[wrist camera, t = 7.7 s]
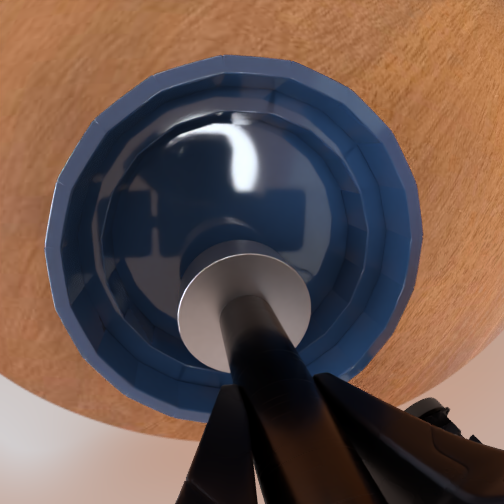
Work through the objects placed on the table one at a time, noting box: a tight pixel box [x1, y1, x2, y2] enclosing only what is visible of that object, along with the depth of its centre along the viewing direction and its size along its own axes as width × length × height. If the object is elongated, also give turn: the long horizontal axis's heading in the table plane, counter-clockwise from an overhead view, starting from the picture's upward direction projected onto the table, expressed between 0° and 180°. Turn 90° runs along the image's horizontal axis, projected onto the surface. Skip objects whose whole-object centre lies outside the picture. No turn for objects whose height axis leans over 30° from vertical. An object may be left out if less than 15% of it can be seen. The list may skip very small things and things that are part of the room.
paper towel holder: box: [177, 240, 389, 504], centre depth 8 cm, size 5×5×11 cm
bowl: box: [44, 55, 423, 423], centre depth 13 cm, size 14×14×4 cm
